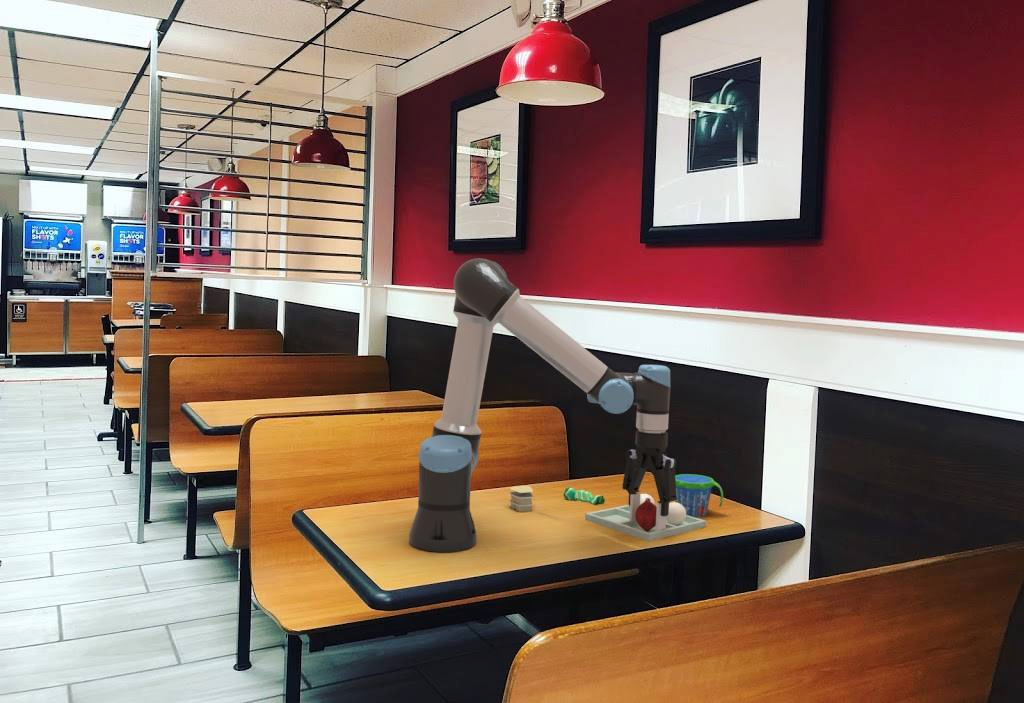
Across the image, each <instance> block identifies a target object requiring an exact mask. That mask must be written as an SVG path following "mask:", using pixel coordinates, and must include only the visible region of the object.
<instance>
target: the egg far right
mask: <svg viewBox="0 0 1024 703" xmlns="http://www.w3.org/2000/svg"><path fill="white" fill-rule="evenodd" d="M685 518H686V510H685V508H684V507H683V506H682V505H681V504H680V503H677V502H676V501H671V502H669V514H668V516H666V522H667V523H669V524H672V525H679V524H681V523H683V522H684V520H685Z"/></svg>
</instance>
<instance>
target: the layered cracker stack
mask: <svg viewBox="0 0 1024 703" xmlns="http://www.w3.org/2000/svg"><path fill="white" fill-rule="evenodd" d="M510 490H512V491H510V492H509V495H510V497H511V498H510V500H509V503H510V508H511V509H514V510H516V511H517V512H519V513H524V512H525V513H526V512H532V506H533V505H534V504H533V501H532V499H533V498H534V495H533V492H534V490H533V488H532V487H531V486H528V485H519V486H517V485H516V486H513V487H512V486H511V487H510Z"/></svg>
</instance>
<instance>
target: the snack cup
mask: <svg viewBox="0 0 1024 703" xmlns="http://www.w3.org/2000/svg"><path fill="white" fill-rule="evenodd" d="M675 480H676V494H677V500H676V501H675V502H677V503H680V504H681V505H682V506H683V507H684V508H685V510H686V515H688V516H691V517H695V518H701V517H706V516H707V515H708V514H707V513H708V510H709V505H710V500H711V494H712V488H713V487H717V488H718V489H719V492H720V499H719V500H720V501H719V507H720V508H721V507H722V505H723V501H724V491H723V488H722V487H721V485H720V484H719V483H718V482H716V481H715V480H714V479H713V478H712V477H710V476H706V475H701V474H692V473H691V474H690V473H689V474H688V473H686V474H685V473H684V474H683V473H681V474H675ZM664 497H665V496H664Z"/></svg>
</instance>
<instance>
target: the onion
mask: <svg viewBox="0 0 1024 703" xmlns="http://www.w3.org/2000/svg"><path fill="white" fill-rule="evenodd" d="M650 500H651V499H649V498H646V500H645V502H644V503H642V504H641V505H640V506H639V507H638V508H637V510H636V514H635V518H636V522H637V523H638V525H639V526H640V527H641V528H642V529H644V530H645V531H650V530H651V529H652V528H653V527H655V526H656V511H657V507H656V506H657V505H656V504H655V505H654V504H653V503H651V501H650Z"/></svg>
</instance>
